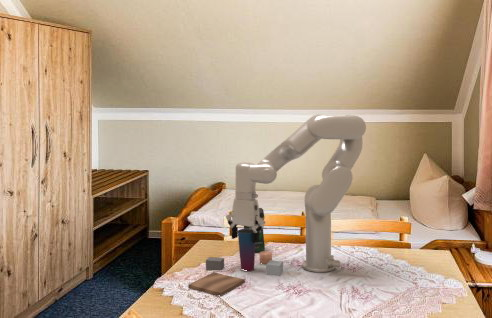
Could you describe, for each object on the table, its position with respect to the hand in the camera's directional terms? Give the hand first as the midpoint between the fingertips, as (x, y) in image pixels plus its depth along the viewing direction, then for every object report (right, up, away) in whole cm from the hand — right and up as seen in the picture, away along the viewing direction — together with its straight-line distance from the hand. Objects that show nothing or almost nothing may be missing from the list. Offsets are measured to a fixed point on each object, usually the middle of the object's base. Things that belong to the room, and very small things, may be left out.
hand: (245, 240), depth 178 cm
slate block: (+11, -12, -3) cm, 17 cm away
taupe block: (-11, -12, +3) cm, 17 cm away
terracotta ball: (+8, -10, +8) cm, 16 cm away
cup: (+1, -12, +1) cm, 12 cm away
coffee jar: (+4, -9, +25) cm, 26 cm away
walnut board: (-10, -13, -14) cm, 22 cm away
